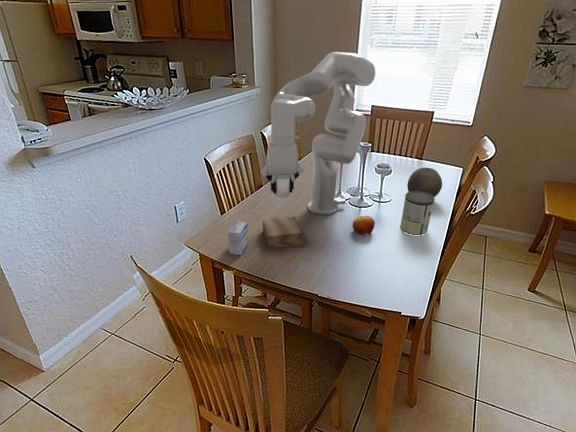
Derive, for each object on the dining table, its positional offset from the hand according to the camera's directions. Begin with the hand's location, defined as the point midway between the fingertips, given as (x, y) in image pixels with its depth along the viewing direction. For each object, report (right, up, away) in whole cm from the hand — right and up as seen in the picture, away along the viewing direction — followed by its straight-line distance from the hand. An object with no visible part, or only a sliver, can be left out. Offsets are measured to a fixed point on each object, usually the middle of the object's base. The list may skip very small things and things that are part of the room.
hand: (282, 191), depth 127 cm
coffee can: (+50, -14, +16) cm, 55 cm away
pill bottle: (0, -1, +1) cm, 1 cm away
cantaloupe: (+62, -2, +39) cm, 73 cm away
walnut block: (0, -17, +9) cm, 19 cm away
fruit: (+30, -15, +14) cm, 36 cm away
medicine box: (-15, -20, +2) cm, 25 cm away
